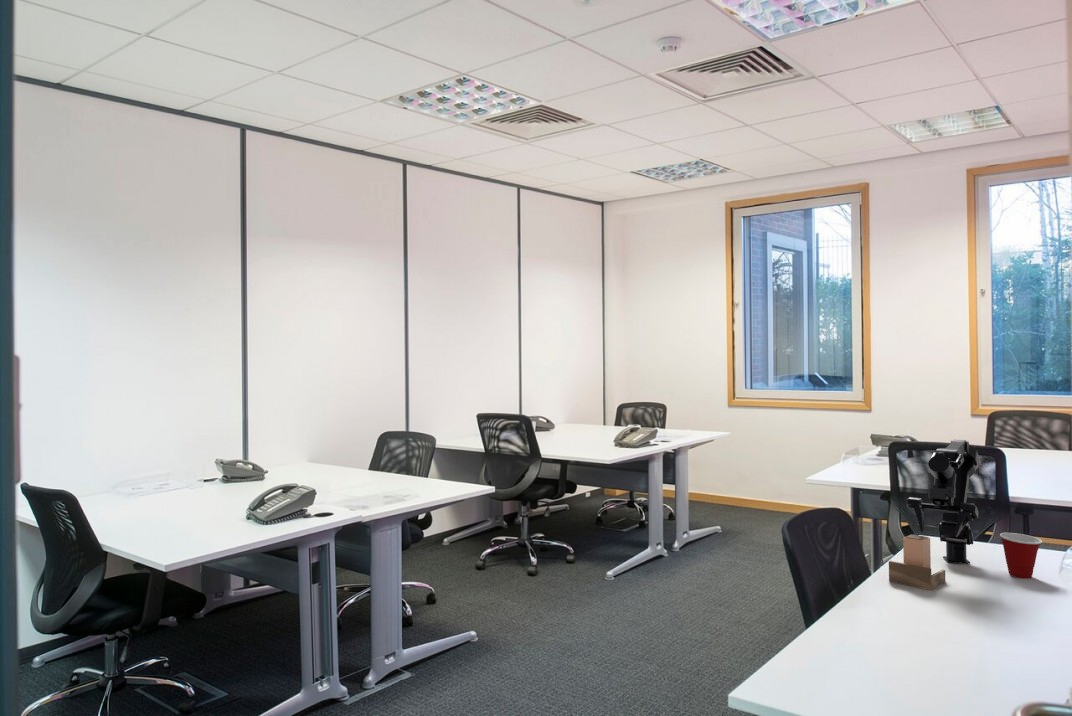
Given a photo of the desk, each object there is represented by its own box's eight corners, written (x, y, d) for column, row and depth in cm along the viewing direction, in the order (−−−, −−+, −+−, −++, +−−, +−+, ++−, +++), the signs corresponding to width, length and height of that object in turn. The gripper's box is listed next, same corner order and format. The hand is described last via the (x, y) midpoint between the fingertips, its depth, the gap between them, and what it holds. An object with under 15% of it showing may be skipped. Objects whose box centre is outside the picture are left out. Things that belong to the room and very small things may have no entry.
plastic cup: (1041, 583, 218) (1041, 542, 218) (998, 577, 224) (997, 537, 224) (1044, 574, 226) (1043, 535, 226) (1002, 569, 233) (1001, 530, 233)
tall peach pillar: (911, 577, 225) (910, 533, 225) (930, 581, 221) (930, 536, 221) (903, 581, 222) (903, 536, 222) (923, 585, 218) (922, 540, 218)
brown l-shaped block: (904, 573, 229) (904, 554, 229) (945, 581, 221) (945, 561, 221) (889, 581, 222) (888, 561, 222) (930, 590, 213) (930, 569, 213)
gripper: (905, 472, 231) (898, 519, 225) (974, 478, 219) (969, 528, 213) (913, 488, 238) (907, 534, 232) (980, 494, 226) (975, 543, 220)
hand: (938, 534), depth 224 cm, fingers open, 9 cm apart
